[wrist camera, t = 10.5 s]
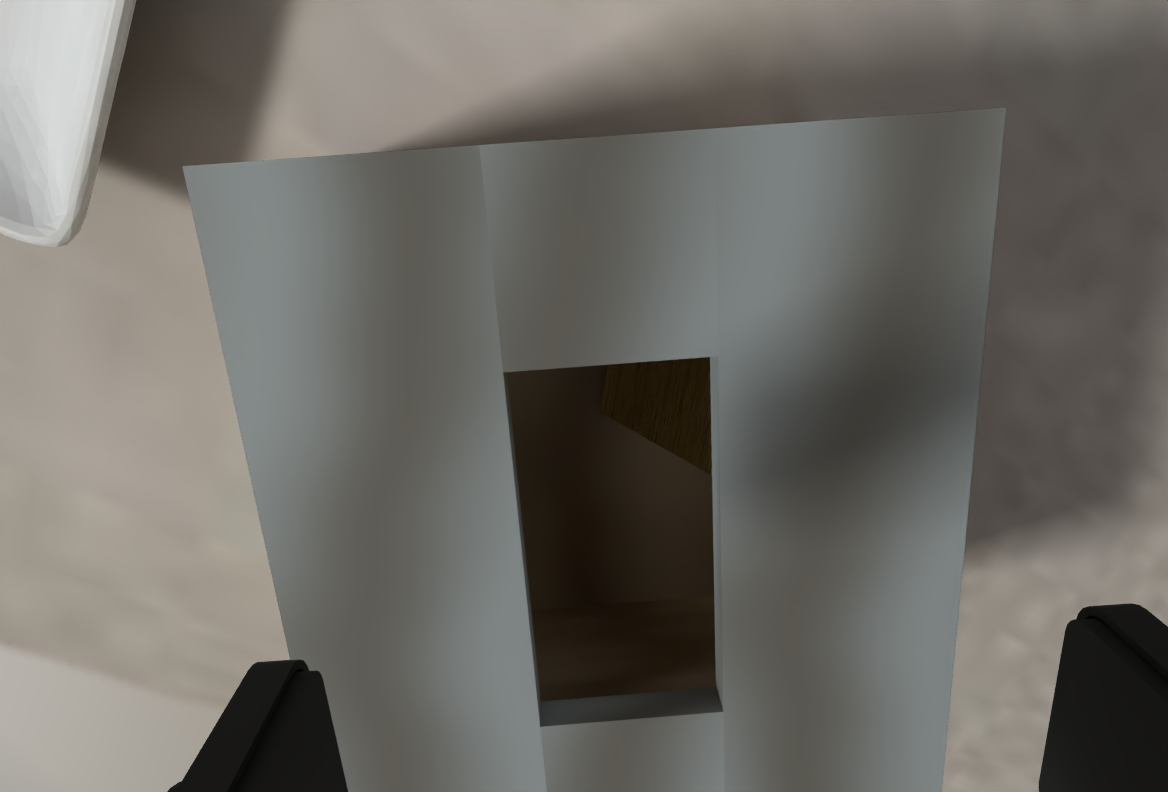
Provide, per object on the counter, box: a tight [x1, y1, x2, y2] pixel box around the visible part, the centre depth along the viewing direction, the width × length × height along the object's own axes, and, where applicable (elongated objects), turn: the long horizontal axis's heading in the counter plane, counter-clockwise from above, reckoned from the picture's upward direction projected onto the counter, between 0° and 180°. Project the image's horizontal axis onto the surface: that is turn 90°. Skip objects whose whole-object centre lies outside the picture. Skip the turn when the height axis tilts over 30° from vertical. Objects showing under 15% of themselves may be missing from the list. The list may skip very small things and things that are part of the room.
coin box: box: [182, 108, 1006, 792], centre depth 20 cm, size 14×16×10 cm
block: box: [600, 357, 712, 475], centre depth 21 cm, size 2×5×6 cm
